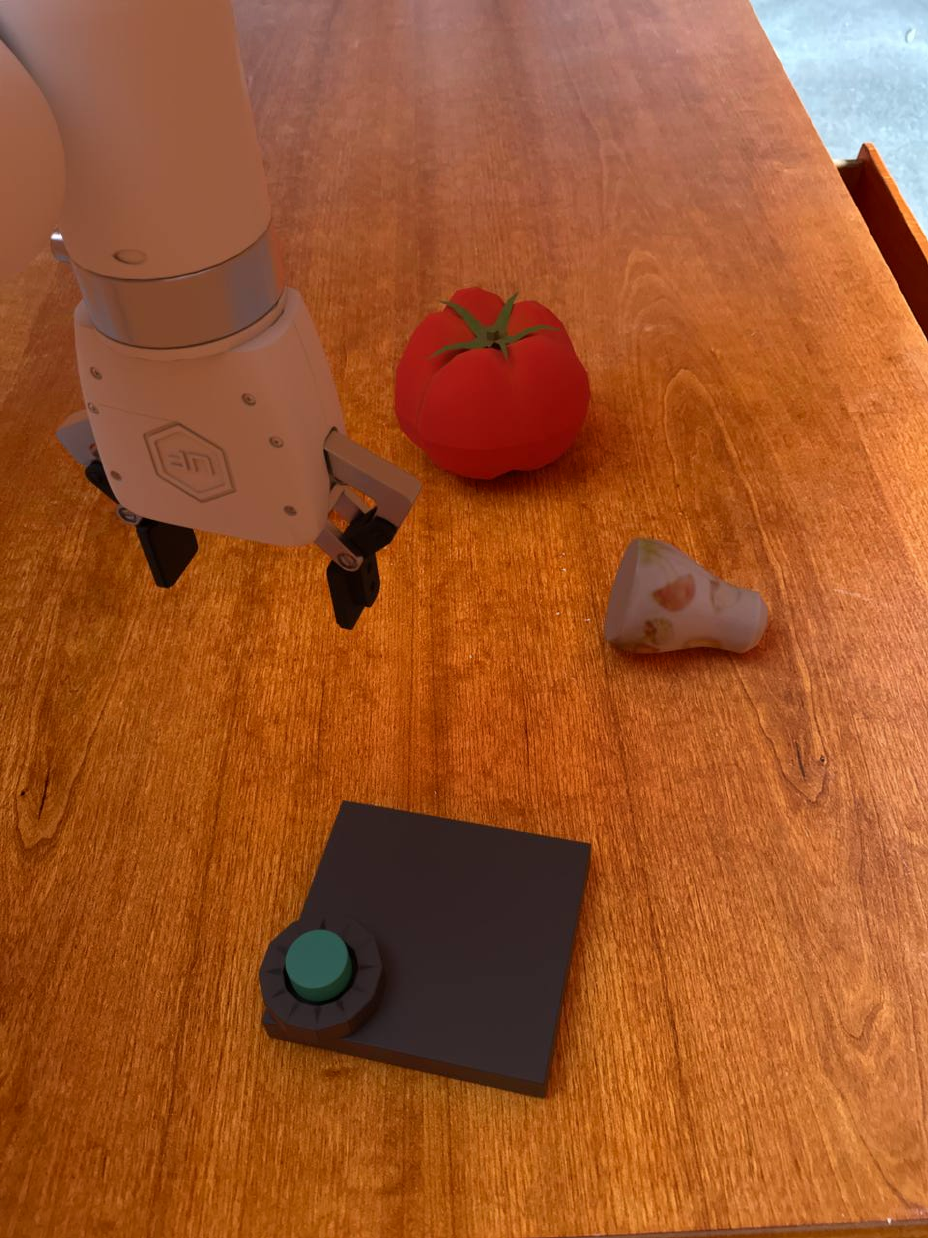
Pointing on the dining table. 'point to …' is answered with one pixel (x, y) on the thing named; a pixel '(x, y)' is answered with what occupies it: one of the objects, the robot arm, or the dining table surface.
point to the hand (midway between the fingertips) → (266, 587)
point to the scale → (438, 946)
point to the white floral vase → (678, 604)
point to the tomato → (491, 386)
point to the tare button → (318, 965)
